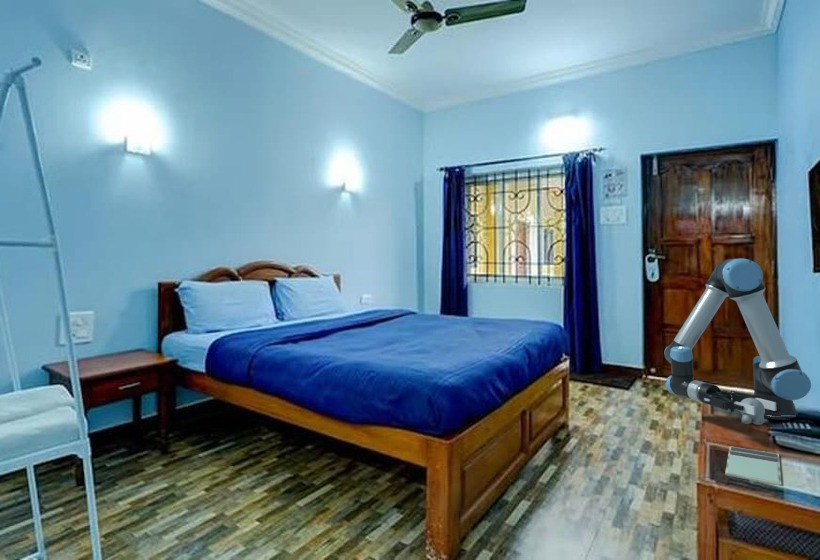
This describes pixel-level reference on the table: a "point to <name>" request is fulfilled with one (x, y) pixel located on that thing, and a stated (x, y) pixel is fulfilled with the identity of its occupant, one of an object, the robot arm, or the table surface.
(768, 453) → the dark gray parallel strips
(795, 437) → the table surface
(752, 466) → the pad
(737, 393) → the robot arm
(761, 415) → the chubby cartoon animal
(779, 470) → the board
